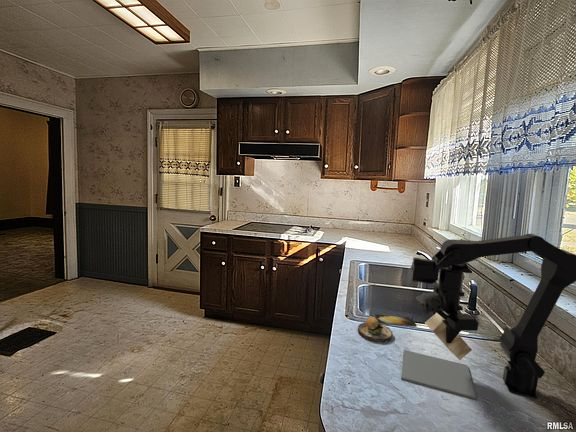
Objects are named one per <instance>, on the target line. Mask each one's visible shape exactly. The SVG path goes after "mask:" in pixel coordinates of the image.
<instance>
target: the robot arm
mask: <svg viewBox="0 0 576 432" xmlns="http://www.w3.org/2000/svg"><path fill="white" fill-rule="evenodd" d="M528 252H532V253H533V254H535V255H536V256H538V257H539V258H541V259H542V263H541V267H540V277H541V278H540V281H539V283H538V284H537V286H536V289H535V290H534V292H533V294H532V297H531V298H530V300H529V301H528V302H529V303H528V304H527V306H526V307H525V310H524V312H523V313H522V316H521V318H520V320H519V321H518V323H517V325H516V326H514V327H513V328H509V327H508V326H506V327H505V328H504V329H503V332H502V334H501V336H500V337H498V339H499V341H500V343H499V346H500V348H501V350H502V351H503V353H504V354H505V356H506V357H507V358H508V359H509V360H508V361H507V364H506V365H505V366H504V367H503V375H502V376H503V377H502V381H503V382H504V385H505V386H506V388H507V390H508V392H511V393H514V394H518V395H522V396H526V397H530V398H534V399H539V395H538V393H537V389H538V382H539V379H542V377H543V376H544V375H545V372H546V371H545V370H544V369H543V367H542V366H541V365H540V364H539V363H538V362H537V361H536V360H537V359H536V358H537V356H538V352H539V344H538V343H539V342H538V341H539V335H540V334H541V333H542V330H543V328H544V327H545V324H546V323H547V321H548V319H549V317H550V316H551V313H552V312H553V310H554V308H555V306H556V305H557V302H558V300H559V298H560V296H561V294H562V293H563V291H564V290H565V289H566V288H568V287H569V286H571V285H572V284H574V283H576V254H575V253H573V252H570V251H568V250H565V249H562V248H559V247H557V246H555V245H553V244H552V243H550V242H549V241H547V240H545V238H543V237H541V236H539V235H537V234H534V233H526V234H522V235H516V236H507V237H498V238H491V239H483V240H481V239H480V240H468V239H467V240H466V239H448V240H445V241H443V243H442V244H441V245H440V249H439V250H438V251H437V252H436V253H435V254H434V255H433V256H432V257H431V259H429V258H427V259H426V258H425V259H424V258H420V257H413V259H412V263H411V266H410V272H409V273H410V274H409V275H410V276H409V277H410V282H414V283H421V284H428V285H433V284H434V283H436V282H437V281H438V285H434V287H433V290H432V291H430V292H423V293H422V294H420V295H417V296H416V297H415V301H416V305H417V307H418V308H417V309H419V310H420V311H422V314H423V313H424V314H425V315H426V314H430V313H431V314H432V316H433V315H434V314H435V313H438V314H439V315H440V316H441V317H442V318H444V319H445V320H442V321H443V323H444V324H445V325H446V342H447V343H451V342H452V341H453V340H454V339H455V338H456V336H457V335H460V333H461V332H463V331H465V332H468V331H469V332H476V331H479V323H480V322H478V320H477V319H476V318H474V317H473V316H472V315H470V314H469V313H460V312H459V311H463V308H464V307H463V306H462V305H460V303H461V297H465V292H464V291H463V290H462V287H463V278H464V273H465V274H473V270H471V268H470V267H469V266H468V264H467V263H470V262H473V261H475V260H477V259H479V258H485V257H492V256H502V255H511V254H519V253H528Z"/></svg>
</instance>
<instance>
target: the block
mask: <svg viewBox="0 0 576 432" xmlns="http://www.w3.org/2000/svg"><path fill="white" fill-rule="evenodd" d="M442 320H445V319H444V318H442V317H441V316H440V315H439V314H438V313H435V314H434V315H433V314H432V316H431V317H430V318H428V319H427V320H426V321H425V322H424V324H425V325H426V326H427V327H428V328H429V329H430V330H431V331H432V333H433V334H434V335H435V336H436V337H437V338H438V339H439V341H440V342H442V344H444V346H445V347H446V348H447V349H448V350H449V351H450V352H451V353H452V354H453V355H454V356H455V357H456V359H458V360H459V361H461V360H463V358H465V357H466V356H467V355H468V354H469V353H470V352H472V351H473V349H472V348H471V347H470V346H469V344H467V342H466V341H465V340H464V339H463V338H462V337H461V336H460V334H458V335H457V336H456V338H455V339H454V340H453V341H452V342H451V343H447V342H446V325H445V324H444V323H443V321H442Z"/></svg>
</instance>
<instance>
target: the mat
mask: <svg viewBox="0 0 576 432" xmlns="http://www.w3.org/2000/svg"><path fill="white" fill-rule="evenodd" d="M402 353H403V354H402V366H401V380H403V381H407V382H410V383H414V384H418V385H421V386H425V387H428V388H432V389H435V390H438V391H439V390H440V391H443V392H447V393H450V394H454V395H458V396H462V397H466V398H468V399H469V398H470V399H473V400H477V396H476V392H475V388H474V384H473V381H472V378H471V373H470V370H469V366H468V364H464V363H462V362H456V361H452V360H448V359H444V358H439V357H436V356H432V355H427V354H423V353H420V352H414V351H410V350H406V349H403V351H402Z"/></svg>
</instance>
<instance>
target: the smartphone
mask: <svg viewBox="0 0 576 432" xmlns="http://www.w3.org/2000/svg"><path fill="white" fill-rule="evenodd" d="M373 318H376V319H377V321H378V323H379V324H382V325H392V326H404V327H418V326H417V323H416V322H415V320H414V319H413V317H406V316H405V317H404V316H395V315H384V314H375V313H374V314H373Z"/></svg>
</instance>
